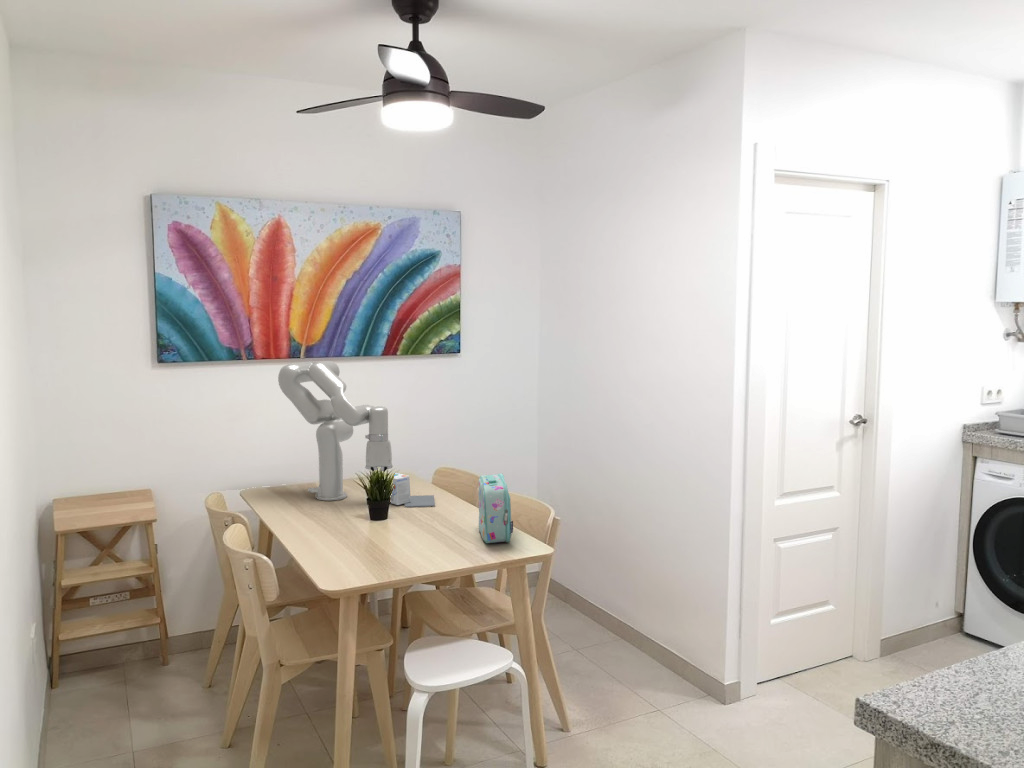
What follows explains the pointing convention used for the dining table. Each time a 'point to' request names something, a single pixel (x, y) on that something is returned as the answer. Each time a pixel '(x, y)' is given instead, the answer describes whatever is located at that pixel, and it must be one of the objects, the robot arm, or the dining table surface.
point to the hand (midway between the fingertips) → (379, 482)
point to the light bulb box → (401, 489)
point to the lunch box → (494, 509)
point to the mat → (421, 501)
